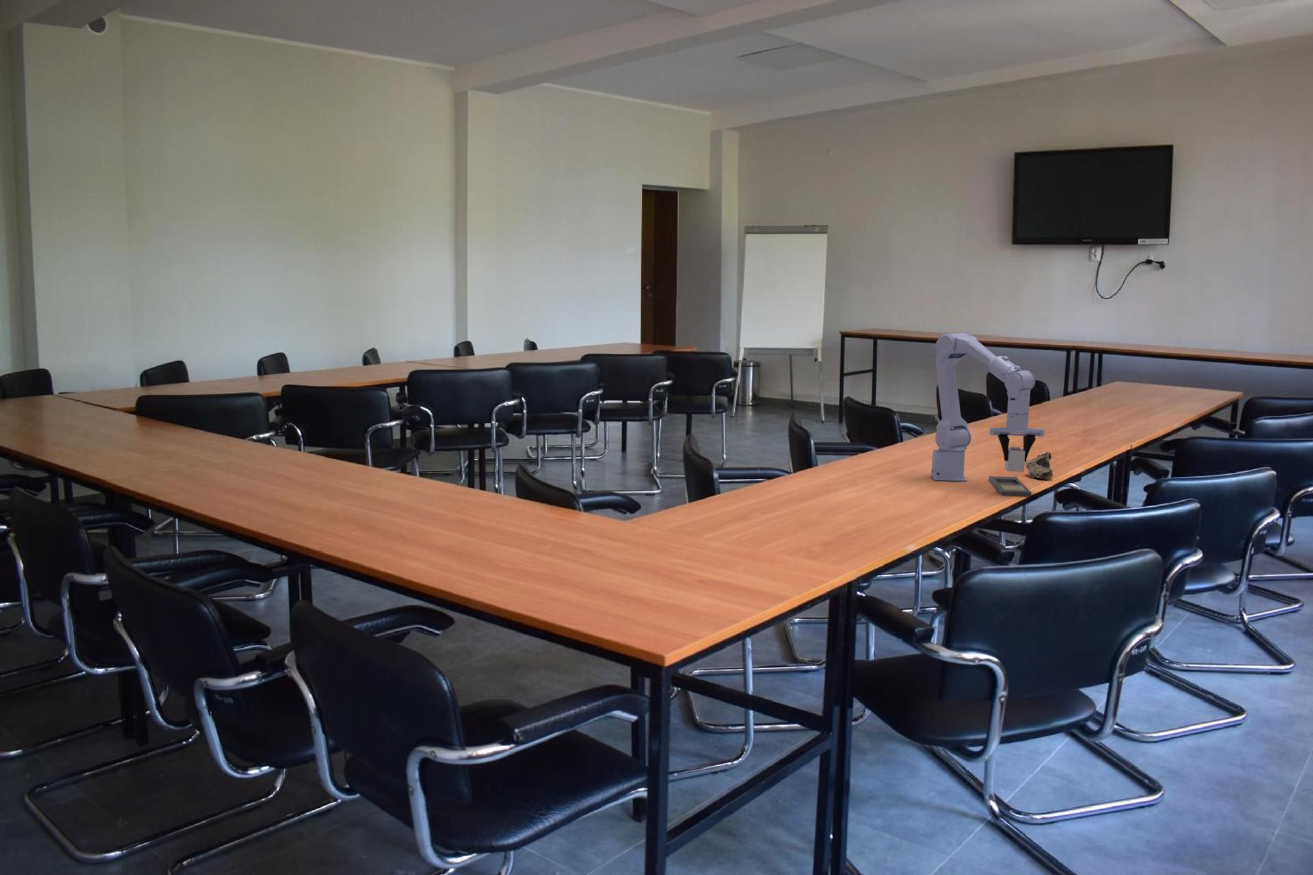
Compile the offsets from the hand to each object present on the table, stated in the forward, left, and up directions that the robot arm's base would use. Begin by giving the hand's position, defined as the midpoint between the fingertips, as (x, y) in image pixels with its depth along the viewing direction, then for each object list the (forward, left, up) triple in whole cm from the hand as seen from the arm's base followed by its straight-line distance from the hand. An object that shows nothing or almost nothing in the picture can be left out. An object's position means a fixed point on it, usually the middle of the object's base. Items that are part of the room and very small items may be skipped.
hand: (1015, 460), depth 295 cm
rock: (+12, +24, -10) cm, 28 cm away
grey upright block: (0, 0, -3) cm, 3 cm away
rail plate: (0, +6, -9) cm, 11 cm away
